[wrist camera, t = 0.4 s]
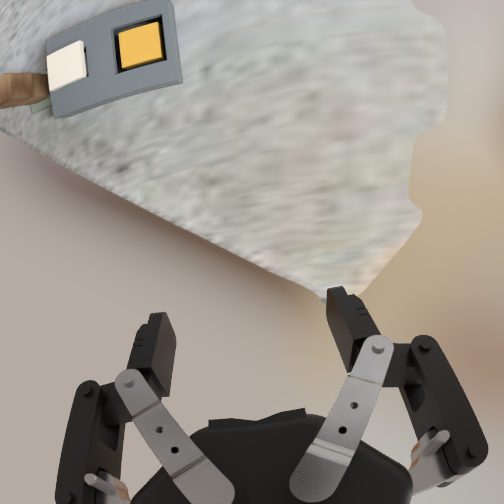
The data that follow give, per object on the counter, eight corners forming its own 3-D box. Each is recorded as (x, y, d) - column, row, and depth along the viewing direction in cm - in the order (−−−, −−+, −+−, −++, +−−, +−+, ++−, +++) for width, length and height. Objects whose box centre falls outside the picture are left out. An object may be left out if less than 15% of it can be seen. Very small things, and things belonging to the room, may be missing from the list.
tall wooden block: (34, 83, 27) (-12, 85, 18) (51, 74, 27) (5, 73, 18) (36, 103, 29) (-10, 110, 19) (53, 95, 29) (7, 99, 19)
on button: (60, 58, 24) (46, 56, 21) (92, 44, 24) (79, 40, 21) (63, 90, 27) (49, 91, 24) (95, 78, 27) (82, 76, 24)
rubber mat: (30, 79, 27) (28, 79, 27) (59, 64, 27) (57, 64, 27) (34, 113, 30) (32, 113, 30) (63, 99, 30) (61, 99, 30)
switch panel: (63, 44, 26) (45, 40, 21) (173, 6, 26) (166, -6, 22) (71, 116, 32) (53, 119, 27) (183, 83, 32) (176, 79, 27)
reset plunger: (123, 36, 26) (118, 33, 24) (161, 25, 26) (157, 21, 24) (127, 69, 28) (122, 67, 26) (165, 59, 28) (161, 56, 26)
